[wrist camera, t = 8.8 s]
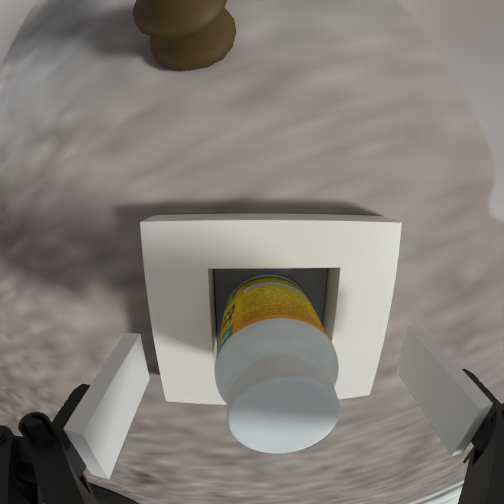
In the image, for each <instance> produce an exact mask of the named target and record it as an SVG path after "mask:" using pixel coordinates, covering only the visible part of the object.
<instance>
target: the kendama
mask: <svg viewBox="0 0 504 504" xmlns="http://www.w3.org/2000/svg"><path fill="white" fill-rule="evenodd" d="M226 2H227V0H136V3H135V5H134V8H133V17H134V22H135V24H136V25H137V27H138V28H139V29H140V31H141V32H142V33H145V34H147V35H150V36H151V37H150V44H151V52H152V54H153V55H154V57H155V58H156V60H157V62H158V63H159V64H162V65H164V66H166V67H168V68H171V69H174V70H189V71H190V70H195V69H200V68H205V67H209V66H210V65H212V64H214V63H216V62H218V61H220V60H222V59H223V58H224V57H225V56H226V54H227V53H228V52H229V51H230V49H231V48H232V46H233V42H234V38H235V35H236V28H235V23H234V18H233V17H232V16H231V15H230V13H229V12H228V11H227V10H226V9H225V5H226Z"/></svg>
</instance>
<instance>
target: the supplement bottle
mask: <svg viewBox="0 0 504 504" xmlns="http://www.w3.org/2000/svg"><path fill="white" fill-rule="evenodd" d="M338 372H339V364H338V358H337V354H336V351H335V349H334V346H333V344H332V342H331V340H330V339H329V337H328V335H327V333H326V331H325V329H324V327H323V326H322V324H321V322H320V320H319V318H318V316H317V314H316V313H315V311H314V309H313V307H312V305H311V303H310V301H309V299H308V298H307V296H306V294H305V293H304V292H303V290H302V289H301V288H300V287H299V286H298V285H297V284H295V283H294V282H293V281H291V280H289V279H287V278H285V277H282V276H278V275H269V274H268V275H259V276H255V277H252V278H250V279H248V280H246V281H244V282H243V283H242V284H240V285H239V286H238V287H237V288H236V289H235V290H234V291H233V292H232V293H231V295H230V296H229V298H228V300H227V302H226V305H225V310H224V316H223V322H222V328H221V334H220V340H219V344H218V351H217V357H216V363H215V382H216V386H217V389H218V392H219V394H220V396H221V397H222V399H223V400H224V402H225V403H226V404H227V422H228V427H229V429H230V432H231V433H232V435H233V436H234V437H235V439H237V440H238V441H239V442H240V443H242V444H243V445H244V446H246V447H248V448H250V449H253V450H256V451H259V452H265V453H288V452H294V451H298V450H301V449H304V448H307V447H309V446H311V445H313V444H315V443H317V442H319V441H320V440H321V439H323V438H324V437H325V436H326V435H327V434H328V433H329V432H330V431H331V430H332V429H333V427H334V426H335V424H336V422H337V420H338V417H339V412H340V404H339V400H338V397H337V394H336V391H335V388H334V387H335V385H336V382H337V378H338Z"/></svg>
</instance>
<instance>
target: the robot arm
mask: <svg viewBox="0 0 504 504" xmlns="http://www.w3.org/2000/svg"><path fill="white" fill-rule="evenodd" d="M396 371H397V373H398V374H399V376H400V377H401V379H402V380H403V382H404V383H405V385H406V386H407V388H408V389H409V391H410V392H411V394H412V395H413V397H414V398H415V400H416V401H417V403H418V404H419V406H420V407H421V409H422V410H423V412H424V414H425V415H426V417H427V418H428V420H429V421H430V423H431V425H432V426H433V428H434V429H435V431H436V432H437V434H438V436H439V437H440V439H441V441H442V442H443V444H444V445H445V447H446V449H447V450H448V452H449V454H450V455H451V456H454V455H456V454H458V453H461V452H463V451H465V449H466V448H467V446H468V445H469V443H470V442H472V444H473V445H474V447H473V448H472V450H471V451H470V452H469V454H468V455H467V457H466V458H465V459H464V462H463V463H466V461H467V460H468V459H469V463H468V467H467V472H466V476H465V480H464V484H463V488H462V491H461V495H460V498H459V502H458V504H504V403H503V404H501V403H500V402H499V401H498V400H497V399H496V398H495V397H494V396H493V395H492V393H491V392H490V391H489V390H488V389H487V388H486V387H484V385H483V384H482V383H481V382H479V379H478V378H477V377H476V376H475V375H474V374H473V373H471V372H469V371H468V370H466V369H461V368H460V367H459V366H458V365H457V364H456V363H455V362H454V360H453V359H452V358H451V357H450V356H449V355H448V354H447V353H446V352H445V351H444V350H443V349H442V348H441V347H440V346H439V345H438V344H437V343H436V342H435V341H434V340H433V339H432V338H431V337H430V336H429V335H428V334H427V333H426V332H425V331H424V330H423V329H422V328H421V327H420V326H415V327H408V328H407V332H406V336H405V340H404V344H403V348H402V352H401V356H400V359H399V363H398V366H397V370H396ZM149 379H150V378H149V374H148V369H147V365H146V360H145V355H144V350H143V345H142V340H141V335H140V334H137V333H125V335H124V336H123V338H122V339H121V340H120V342H119V343H118V345H117V346H116V348H115V349H114V351H113V352H112V354H111V355H110V357H109V358H108V360H107V361H106V363H105V364H104V366H103V367H102V369H101V370H100V372H99V373H98V375H97V376H96V378H95V379H94V381H93V382H92V384H91V385H86V384H81V385H80V386H79V387H77V388H76V389H74V390H73V392H72V393H71V395H70V396H69V397H68V400H66V402H65V403H64V406H62V408H61V409H60V411H59V412H58V414H57V415H56V417H55V418H54V420H53V421H52V423H51V421H50V419H49V417H48V416H47V415H45V414H44V413H40V412H33V413H30V414H27V415H25V416H24V417H23V418H22V419H21V420H20V422H19V426H18V429H19V430H20V432H21V434H22V435H23V437H22V436H14V434H13V433H12V431H11V430H10V429H9V428H8V427H6V426H2V425H0V504H137V503H135V502H133V501H131V500H129V499H127V498H125V497H123V496H120V495H118V494H116V493H113V492H111V491H108V490H105V489H102V488H99V487H96V486H93V485H90V484H88V481H87V479H86V477H85V476H84V474H83V472H84V470H85V468H86V467H87V468H88V470H89V471H90V473H91V474H92V475H95V476H99V477H102V478H106V479H110V476H111V473H112V471H113V468H114V465H115V463H116V460H117V458H118V455H119V452H120V450H121V447H122V445H123V442H124V440H125V437H126V435H127V432H128V430H129V427H130V425H131V422H132V420H133V417H134V415H135V412H136V410H137V408H138V405H139V403H140V400H141V398H142V396H143V393H144V391H145V389H146V386H147V384H148V382H149Z"/></svg>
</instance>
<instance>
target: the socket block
mask: <svg viewBox="0 0 504 504" xmlns="http://www.w3.org/2000/svg"><path fill="white" fill-rule="evenodd" d="M401 224H402V223H401V222H398V221H395V220H393V219H390V218H387V217H384V216H370V215H338V214H266V213H250V214H178V215H154V216H151V217H149V218H147V219H145V220H143V221H141V222H140V228H141V241H142V253H143V263H144V273H145V281H146V290H147V297H148V305H149V312H150V319H151V325H152V332H153V338H154V343H155V349H156V355H157V360H158V365H159V370H160V375H161V380H162V385H163V389H164V394H165V398H166V401H171V402H183V403H199V404H225V405H227V404H226V403H225V402H224V400H223V399H222V397H221V396H220V394H219V392H218V389H217V386H216V382H215V363H216V357H217V351H218V348H217V332H218V344H219V340H220V334H221V328H222V322H223V316H224V310H225V305H226V302H227V300H228V298H229V296H230V295H231V293H232V292H233V291H234V290H235V289H236V288H237V287H238V286H239V285H240V284H242V283H243V282H244V281H246V280H248V279H250V278H252V277H255V276H259V275H268V274H269V275H278V276H282V277H285V278H287V279H289V280H291V281H293V282H294V283H295V284H297V285H298V286H299V287H300V288H301V289H302V290H303V292H304V293H305V294H306V296H307V298H308V299H309V301H310V303H311V305H312V307H313V309H314V311H315V313H316V314H317V316H318V318H319V320H320V322H321V324H322V322H323V324H322V326H323V327H324V329H325V331H326V333H327V335H328V337H329V339H330V340H331V342H332V344H333V346H334V349H335V351H336V354H337V358H338V364H339V372H338V378H337V382H336V385H335V387H334V388H335V391H336V394H337V397H338V399H345V398H353V397H360V396H367V395H370V392H371V388H372V385H373V381H374V377H375V374H376V370H377V366H378V362H379V358H380V354H381V350H382V346H383V341H384V337H385V332H386V327H387V322H388V317H389V312H390V307H391V301H392V295H393V289H394V283H395V276H396V269H397V261H398V253H399V244H400V235H401ZM213 269H214V270H215V294H216V314H217V332H216V314H215V295H214V272H213ZM327 269H328V271H327ZM326 281H327V284H326ZM325 293H326V295H325ZM324 303H325V305H324ZM323 313H324V315H323Z"/></svg>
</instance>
